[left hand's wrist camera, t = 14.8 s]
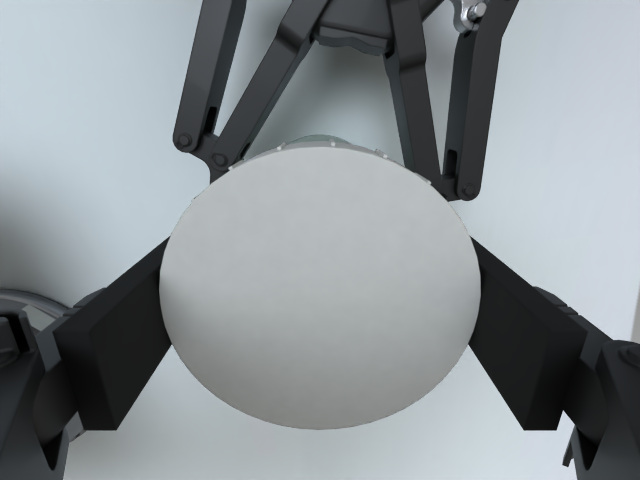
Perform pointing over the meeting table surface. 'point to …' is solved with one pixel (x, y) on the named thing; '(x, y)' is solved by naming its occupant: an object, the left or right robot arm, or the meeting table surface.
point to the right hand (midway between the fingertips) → (307, 289)
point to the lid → (320, 286)
